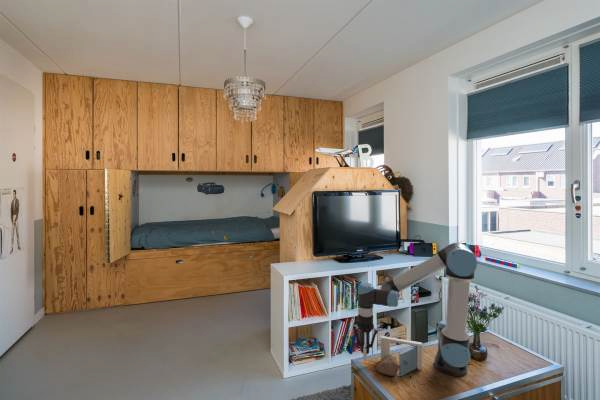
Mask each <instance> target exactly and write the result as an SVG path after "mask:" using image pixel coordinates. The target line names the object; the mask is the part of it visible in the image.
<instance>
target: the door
mask: <svg viewBox="0 0 600 400" xmlns="http://www.w3.org/2000/svg"><path fill="white" fill-rule="evenodd" d="M398 355H399V356H398V365H399V367H400V368H399V370H398V376H400V377H403V376H405V375H406V374H409V373H410V372H412V371H414V370H416V369H418V346H414V345H412V346H411V347H409V348H407V349H405V350H403V351H401V352H400V351H399V354H398Z"/></svg>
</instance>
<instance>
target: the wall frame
mask: <svg viewBox="0 0 600 400" xmlns="http://www.w3.org/2000/svg"><path fill="white" fill-rule="evenodd" d="M391 343H397V344H402V345H409V346H418V366H417V371H418V370H419V371H422V369H423V342H419V341H414V340H408V339H404V338H403V339H401V338H395V337H391V336H384V335H381V336H380V361H381V360H382V358H384V357H385V356H386V355H391Z"/></svg>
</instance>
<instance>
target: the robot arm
mask: <svg viewBox="0 0 600 400" xmlns="http://www.w3.org/2000/svg"><path fill="white" fill-rule="evenodd" d="M477 268H478V259H477V257H476V255H475V253H474V252H473V251H472V250H471V249H470V248H469V247H468V246H467V245H466V244H463V243H461V242H453V243H450V244H449V245H448V244H447V245H446V246H445V247H443V248H441V249H440V250H438V251H436V252H435V255H434V256H431V257H429V258H427V259H426V260H423V261H422V262H420V263H419V264H417V265H415V266H413V267H412V268H409V269H407V270H406V271H404V272H402V273H401V274H398V275H397V276H395V277H393V278H391V279H386V280H384V281H383V282H382V283H381V285H380V288H379V289H378V288H375V286H374V284H372V283H371V282H370V283H369V282H362V283H361V282H360V283H359V285H358V292H357V298H358V299H357V300H358V302H357V304H358V306H357V313H358V315H357V323H356V324H353V326H352V329H353V331H354V333H355V334H354V335H355V339H356V343H357V346H360V347H361V348H360V351H361V352H360V353H361V354H362V360H363V361H365V362H367V361H368V355H369V354H370V348H371V349H372V348H373V346H374V344H375V343H374V342H375V339H376V335H377V334H378V332H379V328H377V327H375V324H374V305H377V306H378V305H379V306H386V307H389V308H390V307H393V308H396V307H398V306H399V293H401V292H403V291H404V290H406V289H408V288H410V287H412V286H414V285H416V284H418V283H420V282H421V281H424V280H426V279H427V278H429V277H431V276H433V275H435V274H436V273H439V272H441V271H443V270H445V276H446V277H447V278H448V284H447V299H446V314H445V319H444V320H440V321H439V322H438V323H437V324H438V326H437V329H438V330H437V332H438V333H437V334H438V335H437V346H438V347H437V352H436V354H435V356H434V358H433V359H434V361H433V362H434V367H435V368H436V369H437V370H439V372H441V373H442V374H446V375H449V376H452V377H453V376H454V377H461V376H465V375H466V374H468V364H469V363H470V361H471V352H470V339H471V338H470V335H469V333H468V332H467V327H468V326H467V325H468V312H469V311H468V310H469V298H470V297H469V296H470V284H471V281H473V280H474V279H475V271H476V270H477ZM359 330H360V333H359ZM371 332H373V335H372V337H371V340H370V336H371V335H370V333H371ZM365 339H366V340H365ZM365 341H366V345H365Z"/></svg>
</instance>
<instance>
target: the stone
mask: <svg viewBox="0 0 600 400" xmlns="http://www.w3.org/2000/svg"><path fill="white" fill-rule="evenodd" d="M399 368H400V367H399V361H397V358H396V356H393V355H391V354H390V355H386V356H385V357H384V358H382V360H381V359H380V362H379V363H378V364H377V365H376V367H375V369H376V370H377V371H378V372H379V373H380V374H382V375H387V376H392V377H395V376H396V375H397V373H399Z"/></svg>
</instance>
